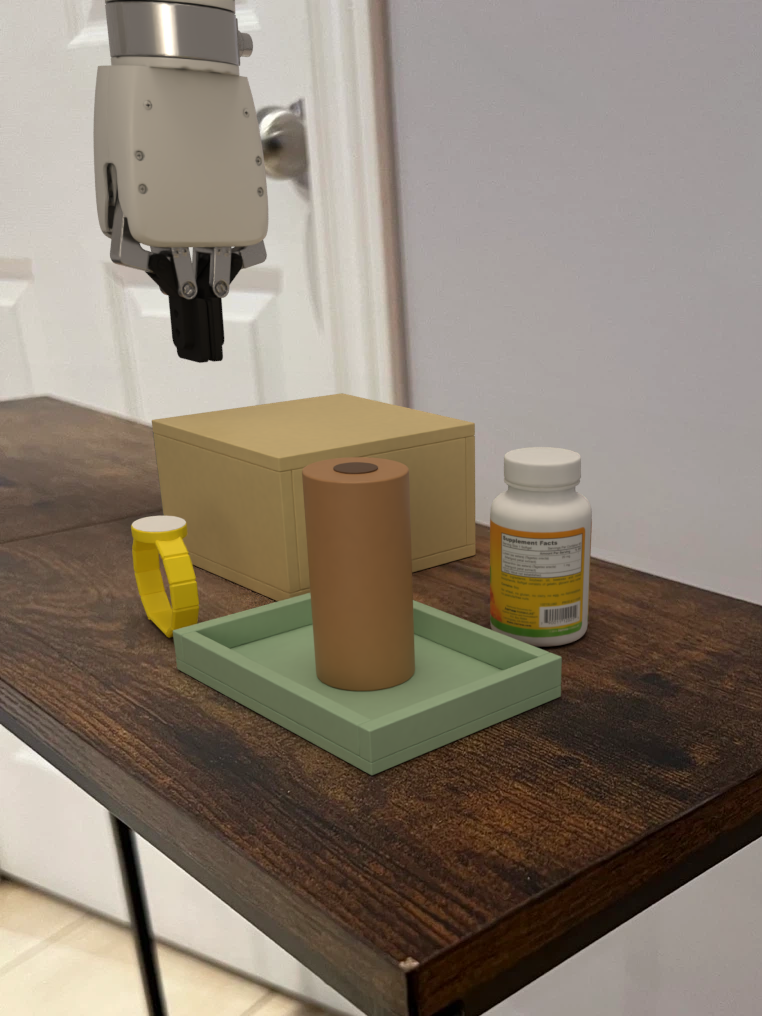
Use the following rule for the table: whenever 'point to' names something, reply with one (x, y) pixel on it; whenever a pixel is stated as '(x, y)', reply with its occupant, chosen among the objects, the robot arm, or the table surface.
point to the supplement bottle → (540, 549)
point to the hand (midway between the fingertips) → (200, 358)
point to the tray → (379, 713)
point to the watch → (166, 541)
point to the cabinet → (279, 487)
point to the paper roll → (360, 571)
